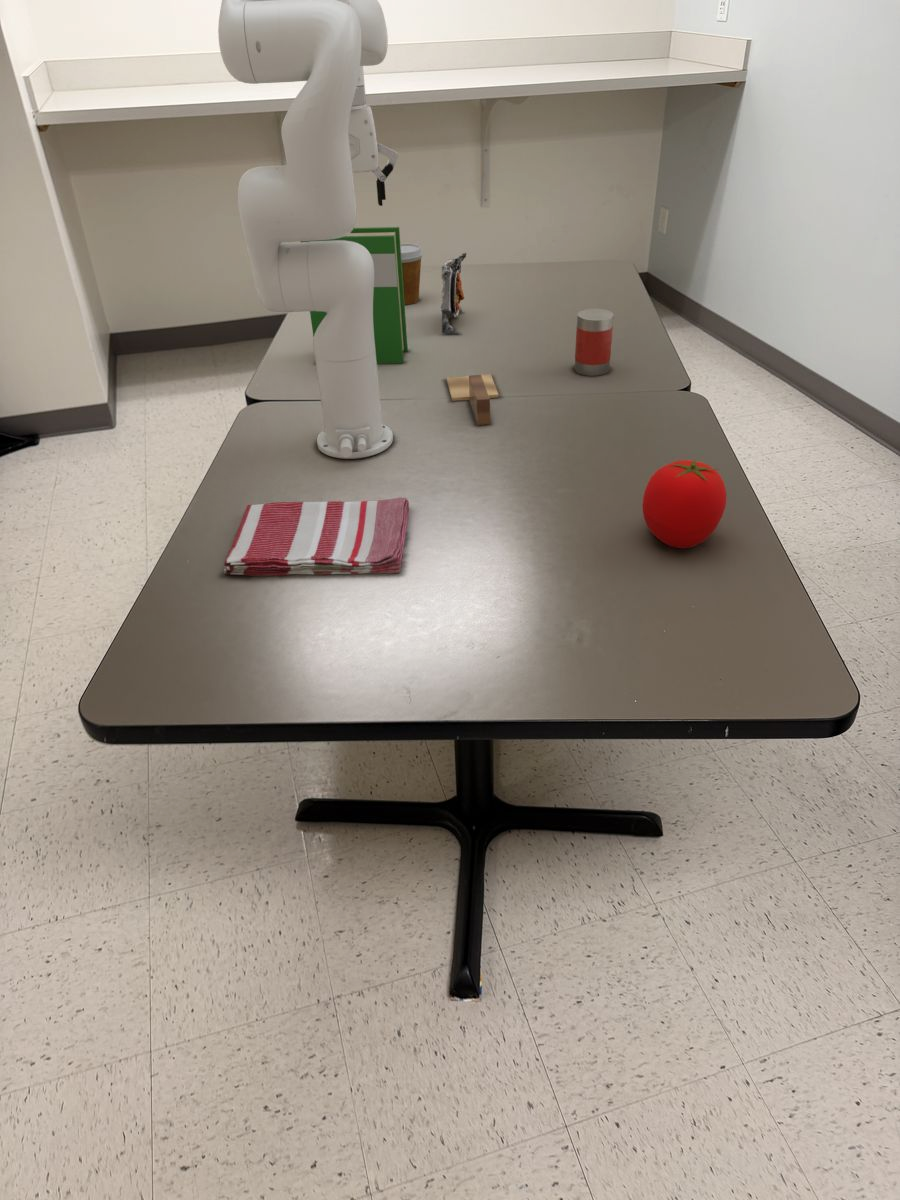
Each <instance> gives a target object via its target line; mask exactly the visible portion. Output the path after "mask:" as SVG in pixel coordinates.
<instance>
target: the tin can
mask: <svg viewBox="0 0 900 1200" xmlns="http://www.w3.org/2000/svg"><path fill="white" fill-rule="evenodd" d="M613 329H614V312H612V311H611V310H608V309H604V308H603V309H602V308H586V309H582V310H581V311H579V312H578V313H577V317H576V332H575V348H574V350H575V352H574V371H575V372H576V373H577V374H579V375H581V376H587V377H595V376H597V377H598V376H603V375H606V374H607V373H608V372H609V371H610V364H611V355H612V341H613Z"/></svg>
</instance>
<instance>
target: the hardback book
mask: <svg viewBox="0 0 900 1200" xmlns="http://www.w3.org/2000/svg"><path fill="white" fill-rule="evenodd" d="M400 233H401V232H400V226H378V227H374V226H373V227H354V228H353V230H352V231H351V232H350V233H349V234H348V235H346V236H344V237H341V238H337V239H329V240H316V241H334V240H344V241H352V242H356V243H358V244H360V245H362V246H364V247H365V248H366V249H367V250H368V251H369V253H370V254H371V257H372V259H373V264H374V293H373V326H374V339H375V350H376V361H377V364H404V362H405V361H404V360H405V359H404V353H407V352H408V351H409V348H408V333H407V319H406V304H405V303H404V289H403V274H402V260H401V245H400V244H401V234H400ZM299 242H310V241H299ZM309 315H310V321H311V329H312V337H313V338H314V335H315V332H316V330H317V328H318V326H319V325H320V323H321V322H322V320H323V319H324V317H325V316H326V315H327V313H326V312H323V311H309Z"/></svg>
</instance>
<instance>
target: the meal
mask: <svg viewBox="0 0 900 1200" xmlns="http://www.w3.org/2000/svg"><path fill="white" fill-rule="evenodd" d="M466 257H467V252H464V253H462V254H461V255H458V256H456V257H455V258H450V259H448V260H447V261H445V262H444V265H442V266H441V279H442V286H443V287H442V290H441V301H442V302H441V305H440V311H441V333H442V334H444V335H459V332H458V331H457V329H454V328H453V326H452V325H450V321H449V319H455V318H457V317H458V316H459V314H460V313H463V308H462V306H461V301H463V300H465V294H464V290H463V286H462V285H463V283H462V280H461V273H462V262H463V261H464V260H465V259H466Z"/></svg>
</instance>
